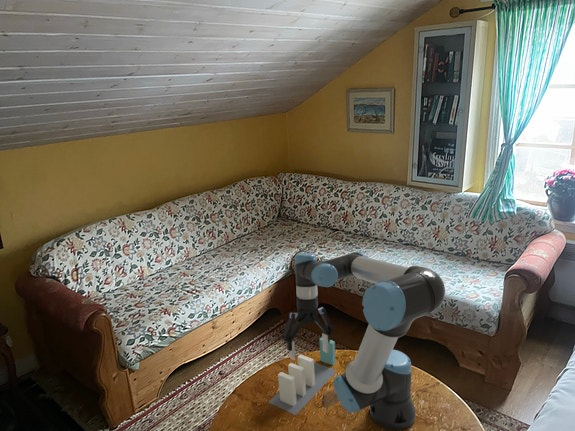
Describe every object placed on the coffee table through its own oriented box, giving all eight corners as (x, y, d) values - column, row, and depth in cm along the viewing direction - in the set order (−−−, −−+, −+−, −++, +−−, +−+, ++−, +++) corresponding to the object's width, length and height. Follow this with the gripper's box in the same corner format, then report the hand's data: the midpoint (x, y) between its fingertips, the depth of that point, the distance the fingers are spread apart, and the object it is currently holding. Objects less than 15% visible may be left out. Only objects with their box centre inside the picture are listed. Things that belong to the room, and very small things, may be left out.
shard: (322, 416, 159) (322, 411, 158) (308, 404, 165) (307, 400, 164) (345, 401, 165) (344, 397, 164) (330, 390, 171) (330, 386, 170)
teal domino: (335, 365, 184) (334, 341, 181) (333, 367, 183) (332, 343, 179) (322, 360, 187) (321, 337, 184) (320, 362, 186) (319, 339, 183)
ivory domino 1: (296, 403, 163) (294, 377, 160) (293, 406, 162) (291, 380, 158) (283, 397, 167) (281, 371, 163) (280, 400, 165) (277, 374, 162)
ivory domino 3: (315, 384, 172) (313, 359, 169) (312, 387, 171) (311, 361, 168) (301, 378, 176) (300, 354, 172) (299, 381, 174) (297, 356, 171)
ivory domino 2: (306, 393, 168) (304, 368, 164) (303, 396, 166) (301, 370, 163) (292, 387, 171) (290, 362, 168) (289, 390, 170) (288, 365, 166)
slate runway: (337, 372, 179) (337, 370, 179) (295, 417, 158) (295, 415, 158) (311, 363, 186) (311, 360, 186) (268, 404, 165) (268, 402, 165)
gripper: (331, 290, 173) (333, 346, 174) (270, 299, 162) (273, 359, 163) (342, 294, 166) (344, 351, 167) (279, 304, 155) (282, 365, 156)
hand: (309, 355), depth 165 cm, fingers open, 13 cm apart
